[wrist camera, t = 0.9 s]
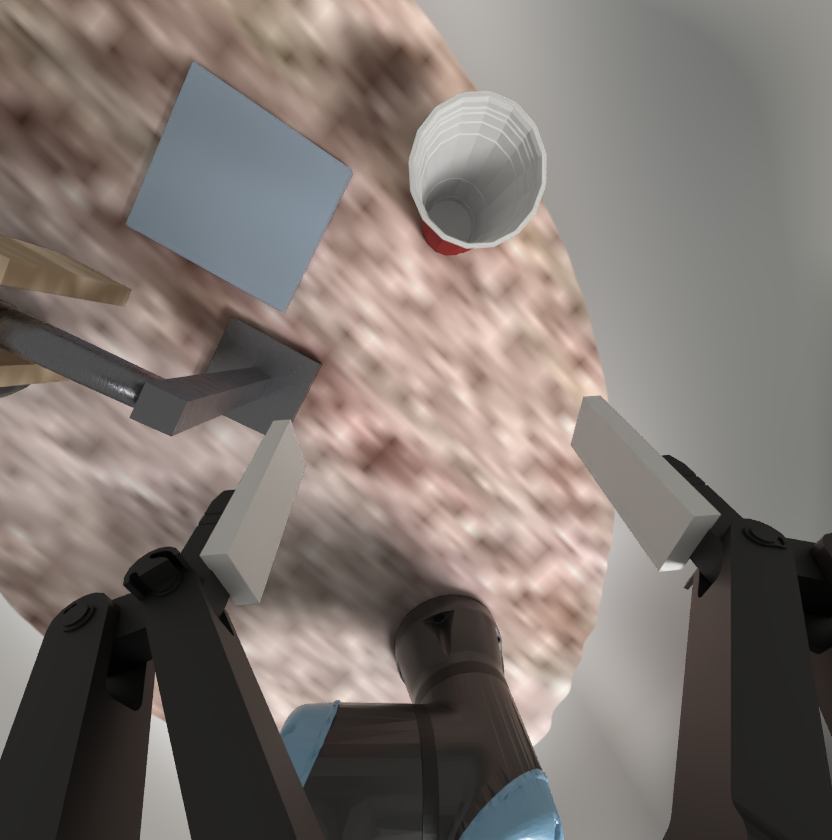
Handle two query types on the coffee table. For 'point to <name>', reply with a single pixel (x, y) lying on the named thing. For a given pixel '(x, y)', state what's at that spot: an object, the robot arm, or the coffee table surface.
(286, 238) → the mat
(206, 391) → the stand
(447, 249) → the plastic cup
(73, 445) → the coffee table surface
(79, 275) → the wooden u-bracket
